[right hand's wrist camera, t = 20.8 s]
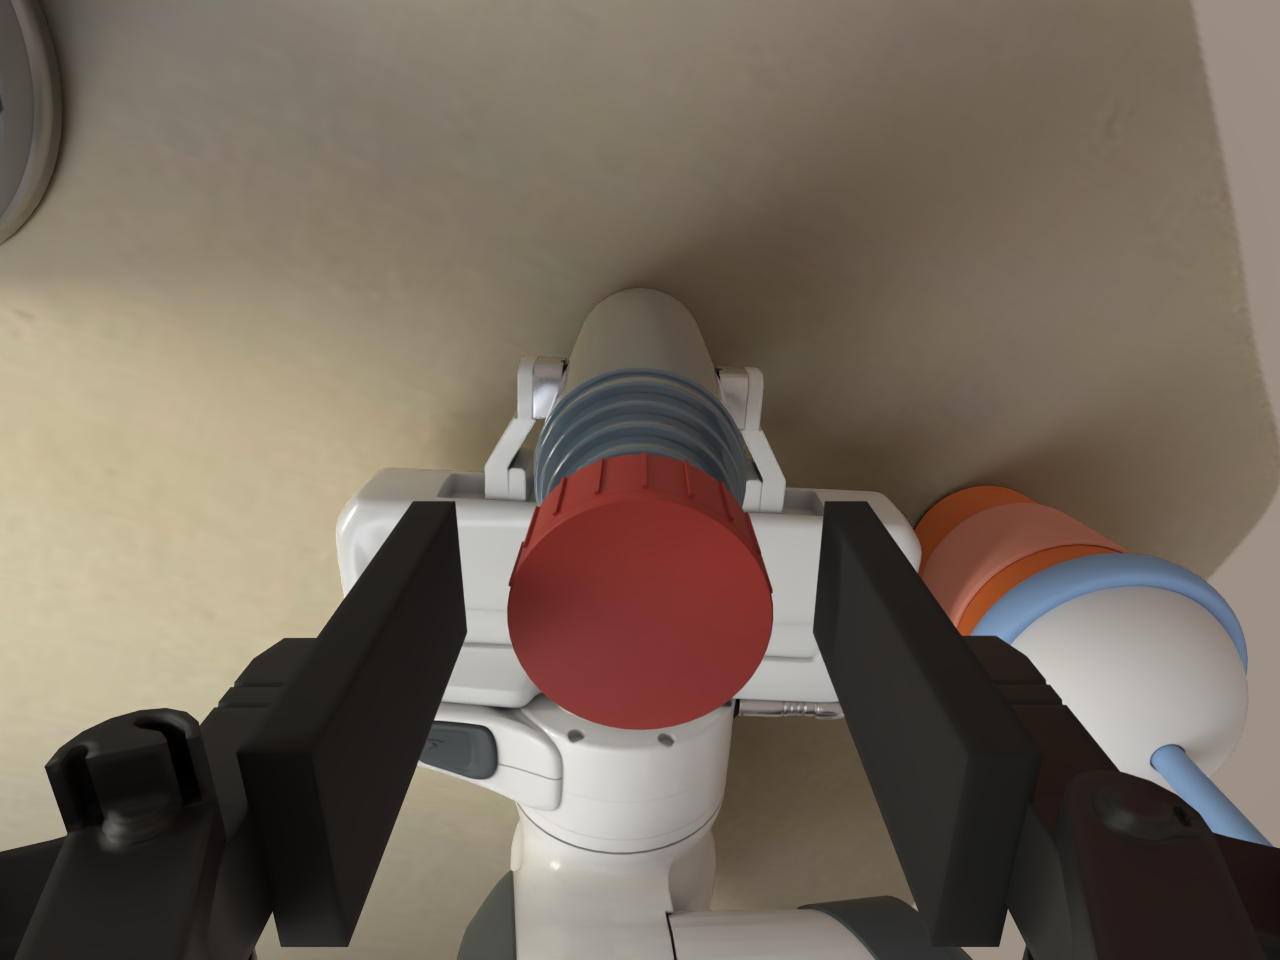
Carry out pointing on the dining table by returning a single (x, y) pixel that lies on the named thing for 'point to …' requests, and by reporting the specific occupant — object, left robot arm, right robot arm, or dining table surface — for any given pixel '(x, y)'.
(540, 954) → the left robot arm
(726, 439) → the bottle
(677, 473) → the cap
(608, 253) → the dining table surface
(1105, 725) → the cup with straw
